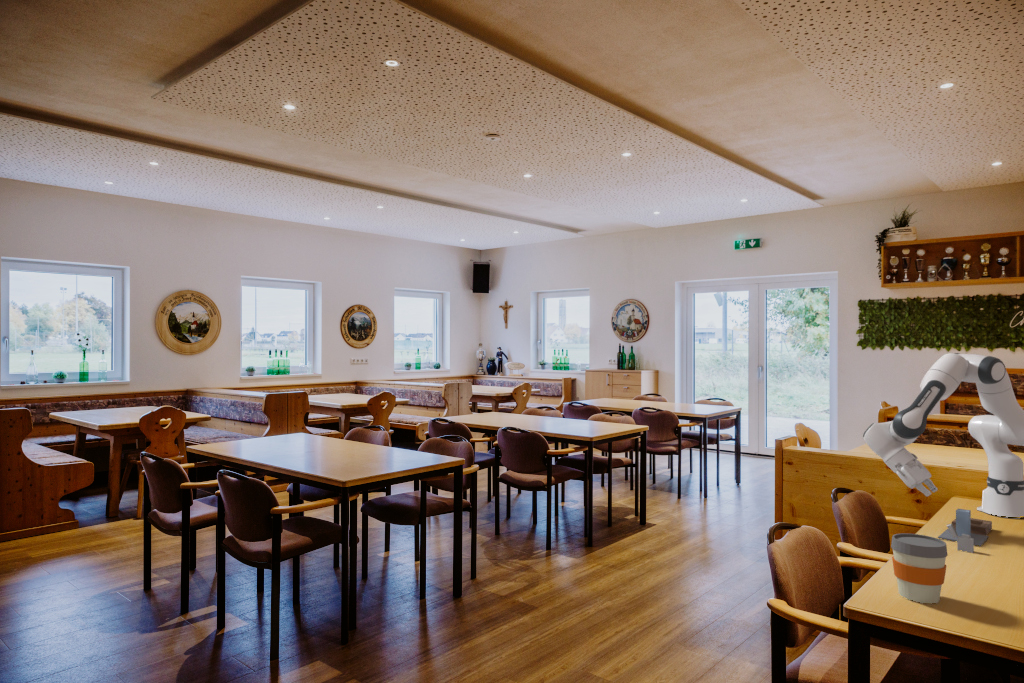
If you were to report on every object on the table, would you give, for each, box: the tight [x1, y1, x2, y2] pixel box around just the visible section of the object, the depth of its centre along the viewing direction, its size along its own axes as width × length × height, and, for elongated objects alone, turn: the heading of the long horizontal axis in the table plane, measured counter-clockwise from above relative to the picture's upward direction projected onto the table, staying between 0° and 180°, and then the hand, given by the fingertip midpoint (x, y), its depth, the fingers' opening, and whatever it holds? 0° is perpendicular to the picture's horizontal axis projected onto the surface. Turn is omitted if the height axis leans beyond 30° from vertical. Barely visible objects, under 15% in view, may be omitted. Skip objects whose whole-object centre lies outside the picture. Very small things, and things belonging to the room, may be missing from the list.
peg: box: [955, 508, 972, 536], centre depth 220 cm, size 4×4×9 cm
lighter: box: [946, 523, 975, 554], centre depth 207 cm, size 7×2×8 cm, turn 45°
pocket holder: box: [951, 517, 993, 536], centre depth 231 cm, size 12×10×3 cm
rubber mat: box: [937, 528, 989, 547], centre depth 220 cm, size 14×12×1 cm
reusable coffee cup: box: [890, 533, 948, 605], centre depth 167 cm, size 13×13×15 cm
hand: (932, 493), depth 227 cm, fingers open, 8 cm apart
